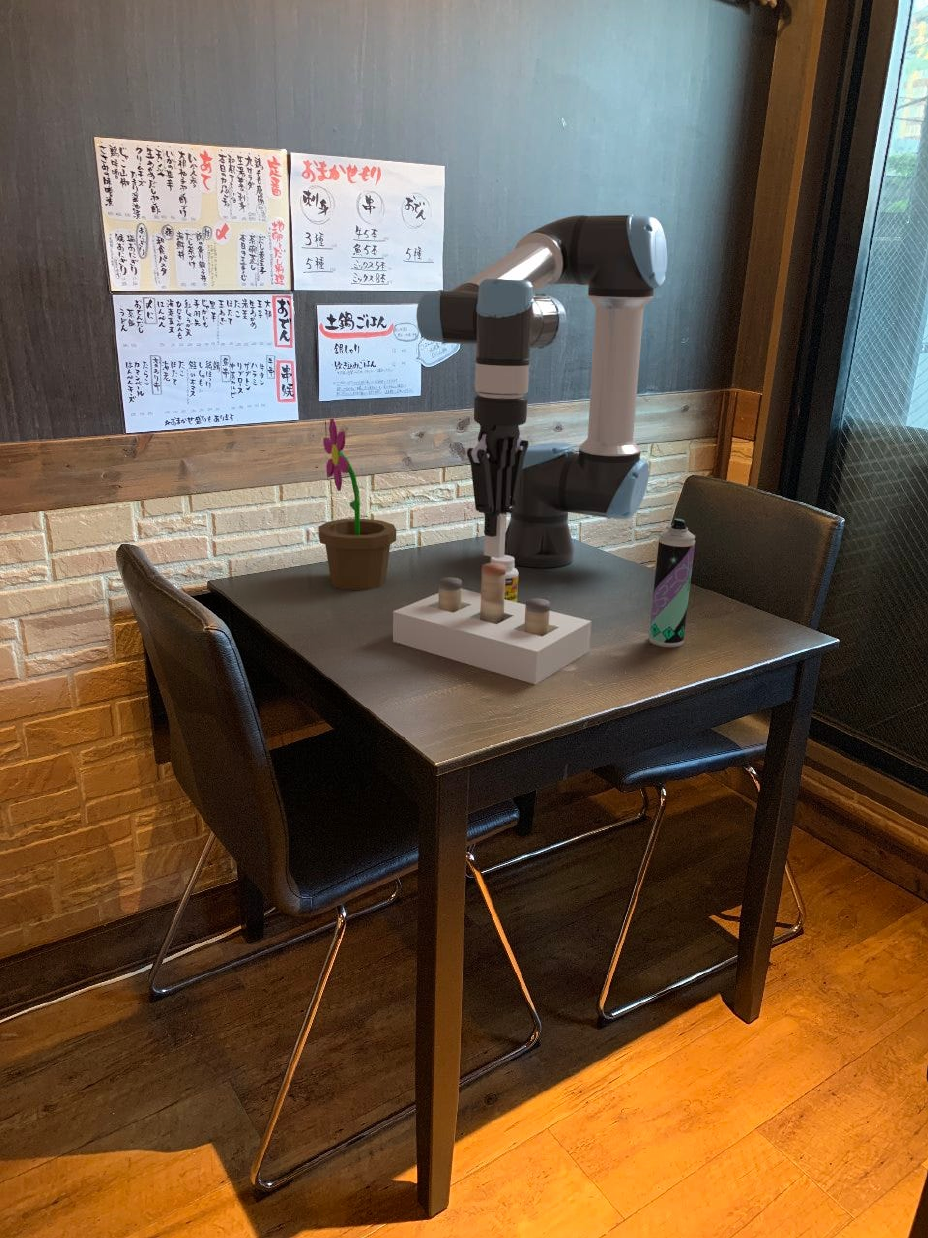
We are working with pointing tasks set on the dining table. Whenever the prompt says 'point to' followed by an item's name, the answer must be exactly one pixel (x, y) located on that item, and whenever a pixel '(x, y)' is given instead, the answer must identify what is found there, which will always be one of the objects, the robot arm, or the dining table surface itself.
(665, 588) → the spray can
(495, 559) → the supplement bottle
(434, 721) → the dining table surface
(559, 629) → the socket board
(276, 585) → the dining table surface
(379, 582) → the flowerpot
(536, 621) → the plug
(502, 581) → the plug
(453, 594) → the plug
